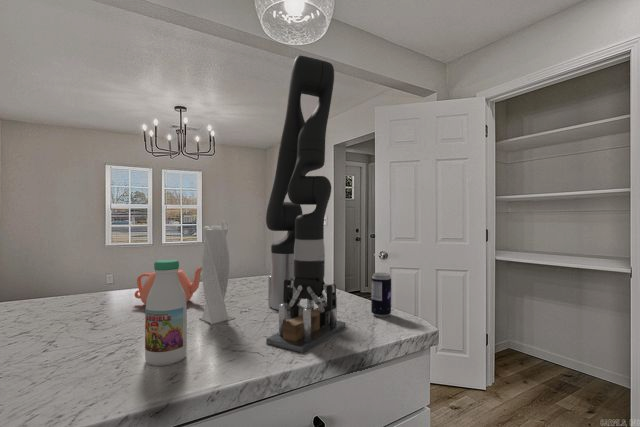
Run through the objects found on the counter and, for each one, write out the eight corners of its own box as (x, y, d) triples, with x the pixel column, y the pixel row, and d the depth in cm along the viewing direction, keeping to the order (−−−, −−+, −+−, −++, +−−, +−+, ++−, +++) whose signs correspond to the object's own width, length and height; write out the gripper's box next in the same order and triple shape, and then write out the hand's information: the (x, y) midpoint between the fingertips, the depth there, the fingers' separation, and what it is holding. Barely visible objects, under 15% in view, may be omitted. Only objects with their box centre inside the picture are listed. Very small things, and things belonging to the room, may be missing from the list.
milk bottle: (154, 351, 73) (154, 258, 73) (191, 350, 74) (191, 257, 74) (138, 367, 66) (138, 263, 66) (179, 366, 66) (180, 263, 66)
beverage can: (391, 318, 97) (391, 276, 97) (370, 317, 98) (371, 275, 98) (390, 312, 103) (391, 272, 103) (371, 311, 104) (372, 272, 104)
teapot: (209, 296, 122) (209, 261, 122) (201, 308, 106) (202, 268, 106) (142, 298, 118) (142, 262, 118) (125, 311, 103) (125, 270, 103)
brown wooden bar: (295, 341, 76) (295, 325, 76) (283, 338, 78) (283, 323, 78) (331, 322, 90) (331, 308, 90) (319, 319, 92) (319, 306, 92)
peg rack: (266, 343, 78) (266, 307, 78) (313, 320, 95) (313, 290, 95) (302, 353, 73) (302, 314, 73) (345, 326, 90) (345, 295, 90)
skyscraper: (237, 321, 95) (238, 220, 95) (210, 328, 89) (211, 220, 89) (221, 314, 101) (221, 219, 101) (195, 320, 95) (195, 220, 95)
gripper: (276, 257, 84) (276, 323, 85) (326, 261, 77) (326, 334, 77) (294, 254, 91) (294, 315, 91) (342, 258, 83) (341, 324, 83)
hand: (308, 323), depth 84 cm, fingers open, 8 cm apart
